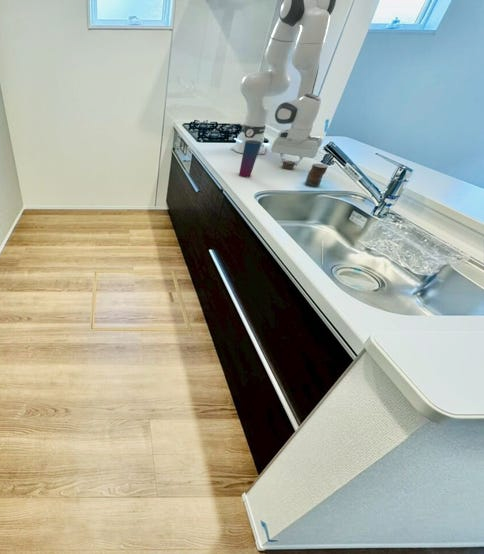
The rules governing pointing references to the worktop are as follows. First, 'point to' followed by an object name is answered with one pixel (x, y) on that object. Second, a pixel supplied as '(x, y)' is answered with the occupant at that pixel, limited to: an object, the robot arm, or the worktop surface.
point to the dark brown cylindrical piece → (315, 175)
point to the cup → (249, 157)
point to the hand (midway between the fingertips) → (288, 164)
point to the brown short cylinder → (288, 164)
